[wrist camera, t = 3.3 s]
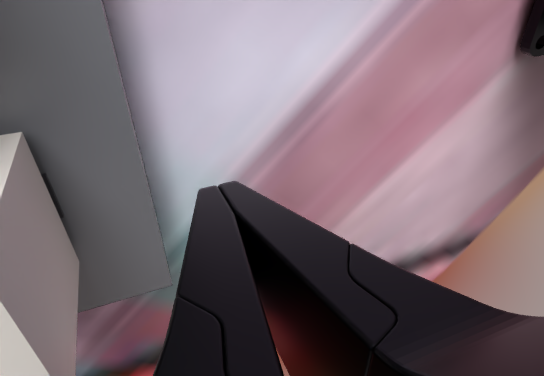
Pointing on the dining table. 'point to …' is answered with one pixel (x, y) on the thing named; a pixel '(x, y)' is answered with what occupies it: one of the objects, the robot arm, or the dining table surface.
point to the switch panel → (82, 142)
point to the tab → (34, 272)
